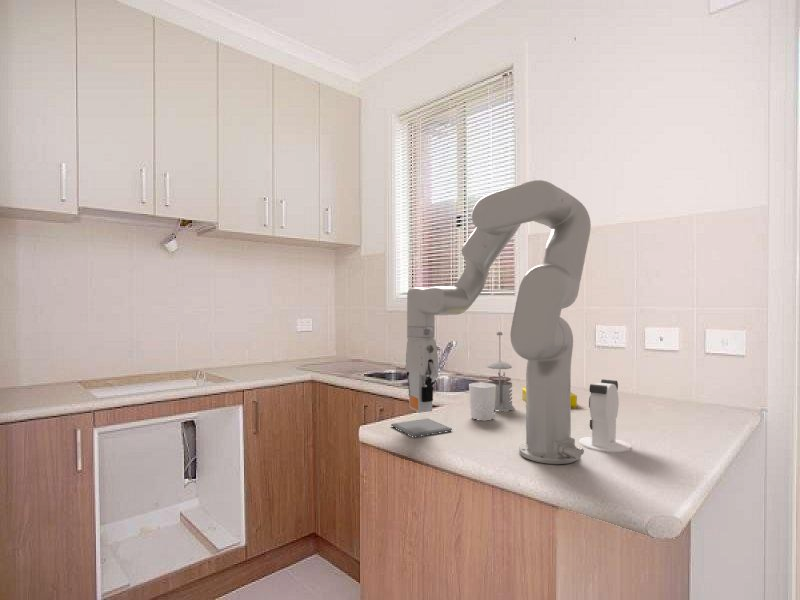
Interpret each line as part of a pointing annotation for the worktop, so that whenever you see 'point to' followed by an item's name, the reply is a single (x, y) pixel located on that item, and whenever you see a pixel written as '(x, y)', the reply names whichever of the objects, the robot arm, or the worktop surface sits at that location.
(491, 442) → the worktop surface
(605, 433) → the panda figurine
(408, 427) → the tray
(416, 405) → the skincare box
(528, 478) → the worktop surface
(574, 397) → the element tile
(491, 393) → the white cup
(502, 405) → the french press
